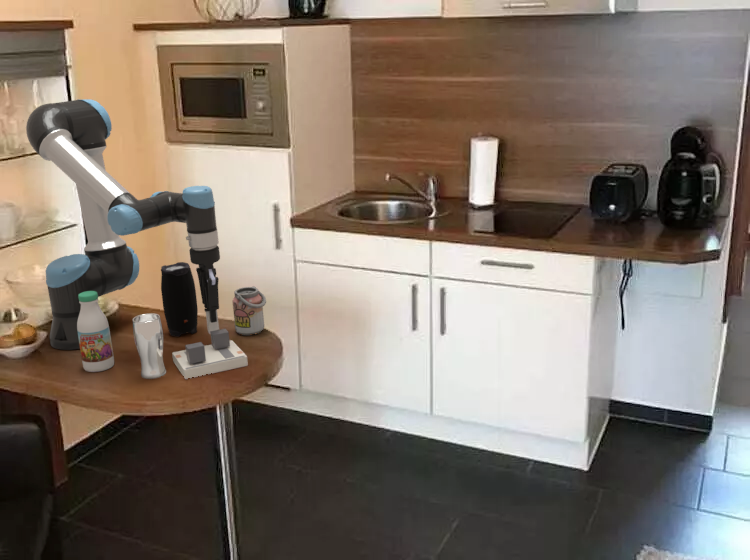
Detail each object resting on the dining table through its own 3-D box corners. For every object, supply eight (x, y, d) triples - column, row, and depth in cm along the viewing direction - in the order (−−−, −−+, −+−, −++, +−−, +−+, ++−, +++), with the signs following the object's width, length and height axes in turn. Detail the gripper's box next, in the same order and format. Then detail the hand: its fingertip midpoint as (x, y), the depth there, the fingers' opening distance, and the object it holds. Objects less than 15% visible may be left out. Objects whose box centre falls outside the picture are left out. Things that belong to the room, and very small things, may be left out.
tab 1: (187, 359, 208) (185, 345, 207) (202, 356, 210) (201, 341, 208) (190, 364, 205) (188, 349, 204) (205, 360, 207) (204, 345, 206)
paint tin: (273, 328, 235) (270, 287, 231) (256, 338, 228) (252, 297, 224) (247, 324, 239) (243, 284, 236) (229, 334, 232) (225, 293, 228)
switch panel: (173, 361, 215) (171, 352, 214) (232, 348, 221) (232, 339, 221) (185, 379, 204) (184, 369, 203) (247, 365, 210) (247, 356, 209)
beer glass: (139, 381, 204) (131, 324, 199) (139, 370, 210) (131, 315, 206) (168, 377, 206) (161, 320, 201) (167, 366, 212) (160, 311, 207)
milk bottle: (82, 364, 216) (71, 291, 210) (113, 358, 219) (102, 286, 213) (84, 375, 209) (71, 300, 203) (115, 369, 212) (104, 295, 206)
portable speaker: (198, 336, 232) (190, 269, 226) (164, 338, 231) (155, 271, 225) (201, 325, 240) (194, 260, 234) (169, 327, 239) (160, 262, 233)
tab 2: (211, 345, 216) (210, 331, 215) (226, 342, 218) (225, 328, 217) (215, 349, 214) (213, 335, 213) (230, 346, 215) (228, 331, 214)
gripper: (183, 243, 218) (193, 327, 225) (196, 254, 207) (206, 342, 214) (211, 239, 221) (220, 322, 228) (225, 249, 210) (234, 336, 217)
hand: (213, 332), depth 221 cm, fingers closed
